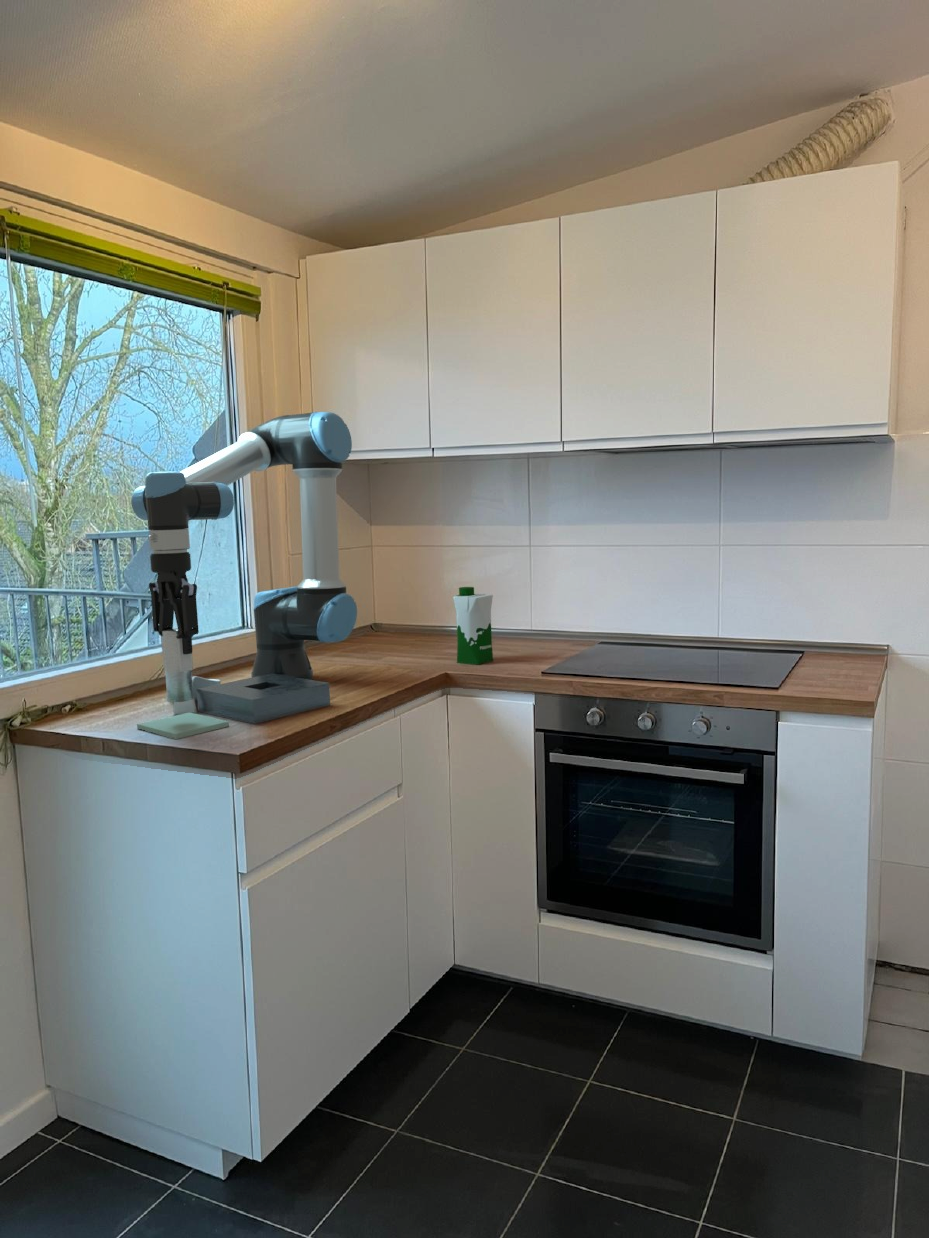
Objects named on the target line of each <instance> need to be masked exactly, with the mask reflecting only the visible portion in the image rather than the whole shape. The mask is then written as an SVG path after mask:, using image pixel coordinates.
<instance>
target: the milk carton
mask: <svg viewBox="0 0 929 1238" xmlns="http://www.w3.org/2000/svg"><path fill="white" fill-rule="evenodd" d="M493 596H494V595H493V594H486V593H475V587H474V586H462V587H461V586H460V587H459V588H458V595H454V596H453V597H452V599H453V602H454V604H453V605H454V608H455V613H456V640H457V645H456V647H457V650H456V663H458V664H465V665H466V664H467V665H474V664H475V665H476V666H478V665H483V664H487V663H490V662H494V655H493V644H492V641H493V639H492V603H493V598H494V597H493Z"/></svg>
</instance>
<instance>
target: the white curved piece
mask: <svg viewBox="0 0 929 1238" xmlns="http://www.w3.org/2000/svg"><path fill="white" fill-rule="evenodd" d="M221 682H222V681H221V680H220V679H215V678H204V677H201V676H196V675H194V676H193V675H192V685H193V699H192V700H189V701H184V702H173V715H174V716H176V715H180V714H185V713H189V712H190V713H194V714H197V705H196V701H198V699H197V689H198V688H203V687H208V686H213V685H218V684H222V683H221Z"/></svg>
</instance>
